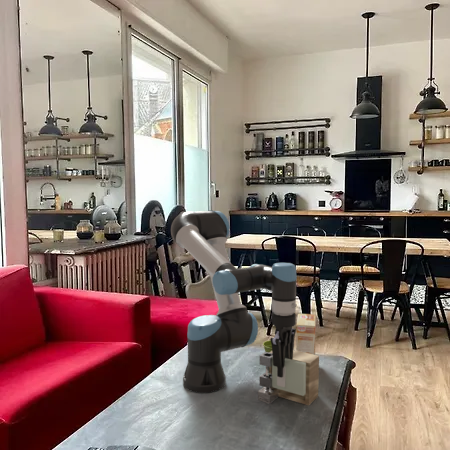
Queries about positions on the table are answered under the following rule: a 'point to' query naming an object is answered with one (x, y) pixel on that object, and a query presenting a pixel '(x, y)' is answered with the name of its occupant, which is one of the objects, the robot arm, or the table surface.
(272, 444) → the table surface
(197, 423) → the table surface
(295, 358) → the cabinet
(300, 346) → the coffeecake box
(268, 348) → the plant pot
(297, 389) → the square frame paddle
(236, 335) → the robot arm
